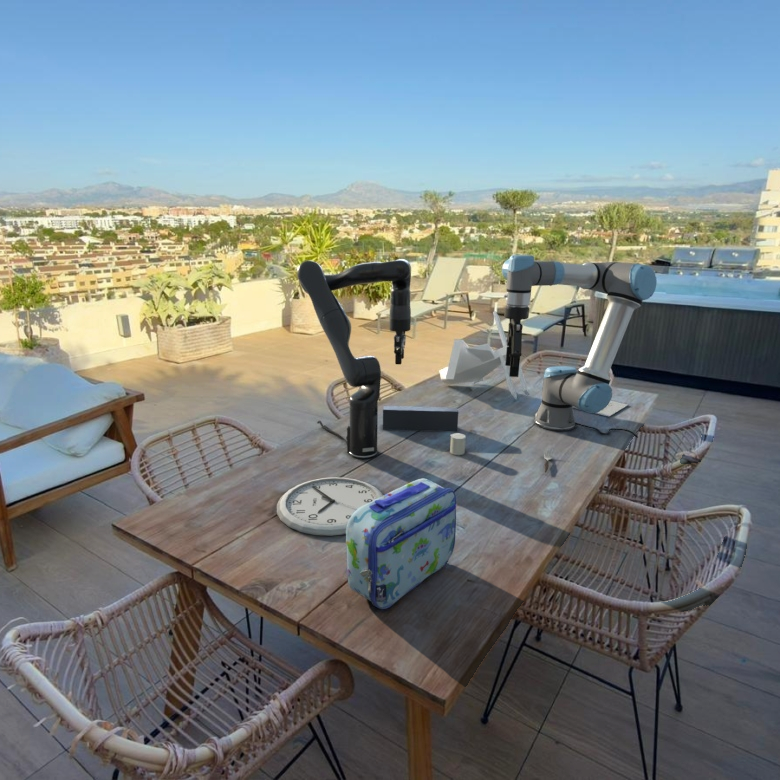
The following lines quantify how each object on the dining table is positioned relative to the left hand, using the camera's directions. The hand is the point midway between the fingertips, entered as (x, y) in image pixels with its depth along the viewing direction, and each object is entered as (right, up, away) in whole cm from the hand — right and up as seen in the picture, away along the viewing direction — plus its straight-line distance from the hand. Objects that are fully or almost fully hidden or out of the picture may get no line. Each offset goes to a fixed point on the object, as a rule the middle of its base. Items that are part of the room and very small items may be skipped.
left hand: (399, 361), depth 191 cm
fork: (+48, -35, -21) cm, 62 cm away
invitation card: (+88, -18, +36) cm, 97 cm away
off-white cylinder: (+19, -32, -13) cm, 39 cm away
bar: (+8, -25, +8) cm, 27 cm away
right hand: (+36, -4, -20) cm, 42 cm away
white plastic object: (+38, -12, +52) cm, 66 cm away
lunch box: (-1, -52, -78) cm, 93 cm away
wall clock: (-19, -42, -48) cm, 67 cm away
